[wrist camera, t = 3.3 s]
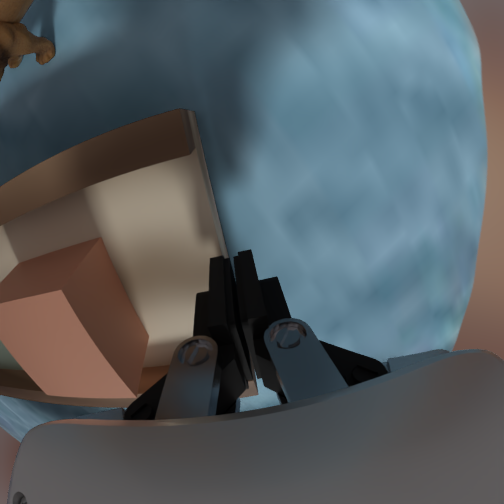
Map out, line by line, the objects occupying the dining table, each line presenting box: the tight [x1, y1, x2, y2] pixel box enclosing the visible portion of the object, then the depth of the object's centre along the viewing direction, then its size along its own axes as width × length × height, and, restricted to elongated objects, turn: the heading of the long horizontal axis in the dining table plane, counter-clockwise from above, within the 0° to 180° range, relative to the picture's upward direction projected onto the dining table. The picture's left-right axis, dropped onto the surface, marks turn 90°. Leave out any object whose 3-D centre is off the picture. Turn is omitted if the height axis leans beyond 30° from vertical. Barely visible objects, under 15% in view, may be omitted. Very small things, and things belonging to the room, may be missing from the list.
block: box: [0, 237, 149, 398], centre depth 10 cm, size 6×6×4 cm
